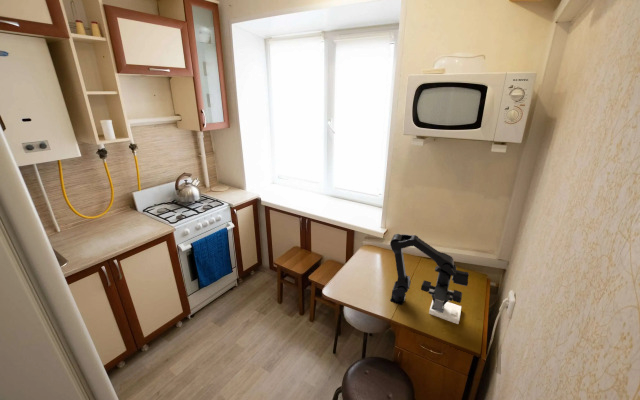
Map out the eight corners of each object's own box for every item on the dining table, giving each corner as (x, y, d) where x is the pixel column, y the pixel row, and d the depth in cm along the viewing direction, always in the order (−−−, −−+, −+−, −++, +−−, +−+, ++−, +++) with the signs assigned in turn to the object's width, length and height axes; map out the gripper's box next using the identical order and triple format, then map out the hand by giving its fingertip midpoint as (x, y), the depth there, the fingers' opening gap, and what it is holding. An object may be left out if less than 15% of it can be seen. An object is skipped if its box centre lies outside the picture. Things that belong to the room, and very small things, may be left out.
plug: (433, 307, 143) (435, 295, 140) (434, 302, 146) (437, 290, 143) (441, 310, 141) (444, 298, 138) (442, 305, 144) (445, 293, 141)
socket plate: (428, 313, 143) (429, 308, 142) (432, 300, 152) (433, 295, 151) (458, 324, 137) (459, 319, 136) (460, 310, 146) (461, 305, 144)
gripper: (420, 282, 135) (416, 307, 141) (462, 295, 126) (456, 321, 132) (425, 270, 144) (421, 294, 150) (464, 282, 135) (458, 307, 141)
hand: (438, 304), depth 143 cm, fingers closed on plug, 4 cm apart
